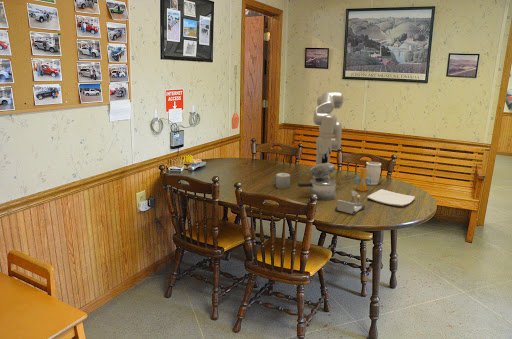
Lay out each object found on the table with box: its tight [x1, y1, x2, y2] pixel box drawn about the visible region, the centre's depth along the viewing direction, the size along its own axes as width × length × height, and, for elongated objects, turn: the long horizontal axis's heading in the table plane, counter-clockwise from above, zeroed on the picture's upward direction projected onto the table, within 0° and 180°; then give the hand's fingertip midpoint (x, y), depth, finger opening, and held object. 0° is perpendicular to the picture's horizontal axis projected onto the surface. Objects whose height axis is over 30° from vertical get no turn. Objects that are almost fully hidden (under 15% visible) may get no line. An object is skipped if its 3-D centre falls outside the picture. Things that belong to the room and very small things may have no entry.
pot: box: [297, 177, 337, 201], centre depth 258 cm, size 16×24×10 cm
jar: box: [365, 161, 382, 186], centre depth 289 cm, size 11×10×15 cm
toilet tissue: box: [272, 172, 291, 189], centre depth 277 cm, size 9×13×9 cm
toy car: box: [334, 190, 366, 217], centre depth 236 cm, size 18×10×12 cm
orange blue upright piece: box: [354, 167, 371, 192], centre depth 274 cm, size 12×10×15 cm
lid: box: [309, 162, 336, 177], centre depth 259 cm, size 17×16×4 cm
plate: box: [366, 188, 416, 207], centre depth 256 cm, size 24×24×3 cm
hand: (324, 164), depth 255 cm, fingers closed
